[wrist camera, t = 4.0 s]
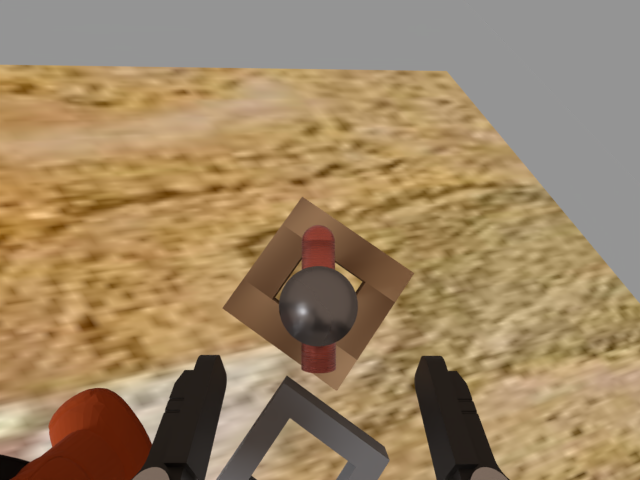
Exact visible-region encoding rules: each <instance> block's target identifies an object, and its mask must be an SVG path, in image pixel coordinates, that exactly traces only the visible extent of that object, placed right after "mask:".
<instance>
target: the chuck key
mask: <svg viewBox="0 0 640 480" xmlns="http://www.w3.org/2000/svg"><path fill="white" fill-rule="evenodd" d="M357 312H358V300H357V295H356V292H355V290H354V288H353V286H352V284H351V283H350V281H349V280H348V279H347V278H346V277H345V276H344V275H343V274H341V273H340V272H338V271H336V270H335V238H334V235H333V233H332V232H331V230H330V229H328V228H327V227H325V226H322V225H315V226H312V227H310V228H308V229H307V230H306V231H305V232H304V234H303V237H302V270H300V271H299V272H297V273H296V274H294V275H293V276H292V277H291V278H290V279H289V280H288V281H287V283H286V284H285V286H284V287H283V290H282V292H281V295H280V299H279V313H280V318H281V321H282V323H283V325H284V327H285V328H286V330H287V331H288V333H289V334H290V335H291V336H292V337H294V338H295V339H296V340H298V341H299V342H301V369H302V370H303V371H305V372H308V373H329V372H332V371H334V370H336V342H337V341H339V340H341V339H342V338H343V337H344V336H345V335H347V333H348V332H349V331H350V330H351V328H352V327H353V325H354V323H355V320H356V317H357Z"/></svg>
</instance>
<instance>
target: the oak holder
mask: <svg viewBox="0 0 640 480" xmlns="http://www.w3.org/2000/svg"><path fill="white" fill-rule="evenodd" d="M315 225H322V226H325V227H327V228H328V229H330V230H331V232H332V233H333V235H334V238H335V263H336V264H338V265H339V266H341V267H342V268H344V269H345V270H346V271H348V272H349V273H351V274H352V275H354V276H355V277H357V278H358V279H359V280H361V281H362V283H361V285H360V286H359V288H358V289H357V290H356V295H357V300H358V312H357V317H356V320H355V323H354V325H353V327H352V328H351V330H350V331H349V332H348V333H347V335H345V336H344V337H343V338H342V339H341V340H339V341H337V342H336V370H334V371H332V372H329V373H312V374H314V375H315V376H317V377H318V378H319V379H321V380H322V381H323V382H325V383H326V384H328V385H329V386H330V387H332V388H333V389H335V390H336V391H337V390H338V389H339V387H340V385H341V384H342V382H343V381H344V379H345V378H346V376H347V375H348V373H349V372H350V370H351V369H352V367H353V366H354V364H355V363H356V361H357V360H358V358H359V357H360V355H361V354H362V352H363V351H364V349H365V348H366V346H367V344H368V343H369V341H370V340H371V338H372V337H373V335H374V334H375V332H376V331H377V329H378V328H379V326H380V325H381V323H382V322H383V320H384V319H385V317H386V316H387V314H388V313H389V311H390V310H391V308H392V307H393V305H394V303H395V302H396V300H397V299H398V297H399V296H400V294H401V293H402V291H403V290H404V288H405V287H406V285H407V284H408V282H409V281H410V279H411V278H412V276H413V275H414V273H413V272H412V271H410V270H409V269H407V268H406V267H405V266H403V265H402V264H400V263H399V262H397V261H396V260H394V259H393V258H391V257H390V256H388V255H387V254H386V253H384V252H383V251H381V250H380V249H378V248H377V247H375V246H374V245H372V244H371V243H369V242H368V241H367V240H365V239H364V238H362V237H361V236H359V235H358V234H356V233H355V232H353V231H352V230H350V229H349V228H348V227H346V226H345V225H343V224H342V223H340V222H339V221H337V220H336V219H334V218H333V217H331V216H330V215H329V214H327V213H326V212H324V211H323V210H321V209H320V208H318V207H317V206H315V205H314V204H312V203H311V202H309V201H308V200H307V199H305V198H304V197H302V198H301V199H300V200H299V202H298V203H297V205H296V206H295V207H294V209H293V210H292V212H291V213H290V214H289V216H288V217H287V219H286V220H285V221H284V223H283V224H282V225H281V227H280V228H279V230H278V231H277V232H276V234H275V235H274V237H273V238H272V239H271V241H270V242H269V244H268V245H267V246H266V248H265V249H264V251H263V252H262V253H261V255H260V256H259V258H258V259H257V260H256V262H255V263H254V265H253V266H252V267H251V269H250V270H249V272H248V273H247V274H246V276H245V277H244V279H243V280H242V281H241V283H240V284H239V285H238V287H237V288H236V290H235V291H234V292H233V294H232V295H231V297H230V298H229V299H228V301H227V302H226V304H225V305H224V306H223V309H224V310H225V311H227V312H228V313H230V314H231V315H232V316H234V317H235V318H236V319H238V320H239V321H241V322H242V323H243V324H245V325H246V326H247V327H249V328H250V329H252V330H253V331H254V332H256V333H257V334H259V335H260V336H261V337H263V338H264V339H265V340H267V341H268V342H270V343H271V344H272V345H274V346H275V347H276V348H278V349H279V350H281V351H282V352H283V353H285V354H286V355H288V356H289V357H290V358H292V359H293V360H294V361H296V362H297V363H299V364H300V365H301V342H299V341H298V340H296V339H295V338H294V337H292V336H291V335H290V334H289V333H288V331H287V330H286V328H285V327H284V325H283V323H282V321H281V318H280V313H279V300H278V299H277V298H275V297H276V296H277V294H278V293H279V291H280V290H281V289H282V287H283V286H284V284H285V283H286V281H287V280H288V279H289V277H290V276H291V274H292V273H293V271H294V270H295V269H296V267H297V266H298V264H299V263H300V261H301V260H302V237H303V234H304V232H305V231H306V230H307V229H308V228H310V227H312V226H315Z"/></svg>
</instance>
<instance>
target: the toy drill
mask: <svg viewBox="0 0 640 480" xmlns="http://www.w3.org/2000/svg"><path fill="white" fill-rule="evenodd" d="M48 427H49V436H50V441H51V445H52V448H51V449H49V450H48V451H47V452H45V453H44V454H43V455H42V456H40V457H38V458H36V459H34V460H33V461H31V462H29V461H26V460H22V459H19V458H15V457H10V456H6V455H1V454H0V480H131V479H132V478H133V477H134V476H135V475H136V474H137V473H138V472H139V471H140V470H141V468H142V467H143V465H144V463H145V462H146V459H147V457H148V455H149V452H150V449H151V446H152V443H151V440H150V438H149V436H148V434H147V432H146V430H145V428H144V426H143V425H142V423H141V422H140V420H139V419H138V417H137V416H136V414H135V413H134V412H133V410H132V409H131V408H130V406H129V405H128V404H127V403H126V402H125V401H124V399H123V398H122V397H120V396H119V395H118V394H116V393H115V392H113V391H111V390H109V389H107V388H92V389H87V390H85V391H82V392H80V393H78V394H77V395H75V396H73V397H71V398H70V399H69V400H67V401H66V402H65V403H63V404H62V405H61V406H60V407H59V408H58V410H57V411H56V412H55V413H54V414H53V416H52V418H51V420H50V423H49V426H48Z"/></svg>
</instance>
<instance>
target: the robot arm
mask: <svg viewBox="0 0 640 480" xmlns="http://www.w3.org/2000/svg"><path fill="white" fill-rule="evenodd" d="M414 383H415V390H416V395H417V399H418V403H419V407H420V412H421V416H422V420H423V424H424V429H425V433H426V437H427V441H428V446H429V450H430V454H431V458H432V463H433V467H434V471H435V475H436V480H510V479H509V478H507V477H506V476H505V474H504V473H503V472H502V471H501V469H500V468H499V466H498V465H497V463H496V461H495V458H494V456H493V453H492V450H491V448H490V445H489V442H488V439H487V437H486V434H485V431H484V429H483V426H482V423H481V420H480V418H479V415H478V414H477V410H476V407H475V404H474V402H473V401H472V396H471V393H470V391H469V388H468V385H467V383H466V382H465V381H464V379H463V378H462V377H461V375H460V374H459V373H458V372H457V371H448V369H447V366H446V363H445V360H444V358H443V357H442V356H421V359H420V362H419V364H418V367H417V370H416V373H415V378H414ZM226 385H227V374H226V371H225V368H224V365H223V362H222V360H221V357H220V355H200V356H199V357H198V359H197V361H196V364H195V367H194V370H184V371H183V373H182V374H181V375H180V377H179V378H178V379H177V380H176V382H175V383H174V386H173V389H172V392H171V394H170V397H169V401H168V402H167V405H166V408H165V412H164V413H163V416H162V419H161V422H160V424H159V427H158V430H157V433H156V435H155V438H154V441H153V444H152V446H151V449H150V452H149V455H148V457H147V459H146V462H145V463H144V465H143V467H142V468H141V470H140V471H139V472H138V473H137V474H136V475H135V476H134V477H133V478H132V479H131V480H205V477H206V473H207V468H208V464H209V460H210V456H211V451H212V447H213V443H214V438H215V434H216V430H217V425H218V421H219V417H220V413H221V408H222V404H223V400H224V395H225V391H226Z"/></svg>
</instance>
